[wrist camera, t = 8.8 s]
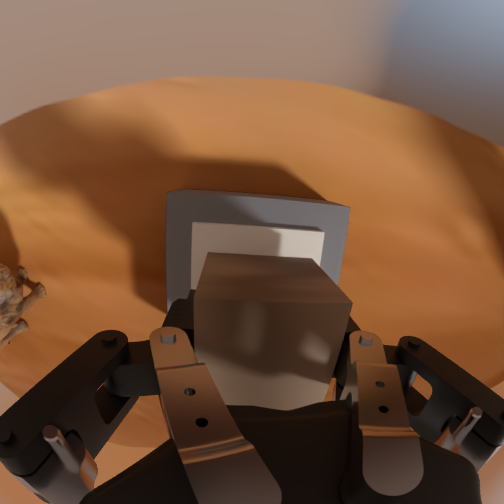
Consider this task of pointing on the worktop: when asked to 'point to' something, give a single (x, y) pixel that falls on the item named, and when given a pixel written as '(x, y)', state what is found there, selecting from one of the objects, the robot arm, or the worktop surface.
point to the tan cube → (268, 328)
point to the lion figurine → (14, 302)
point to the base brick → (248, 232)
